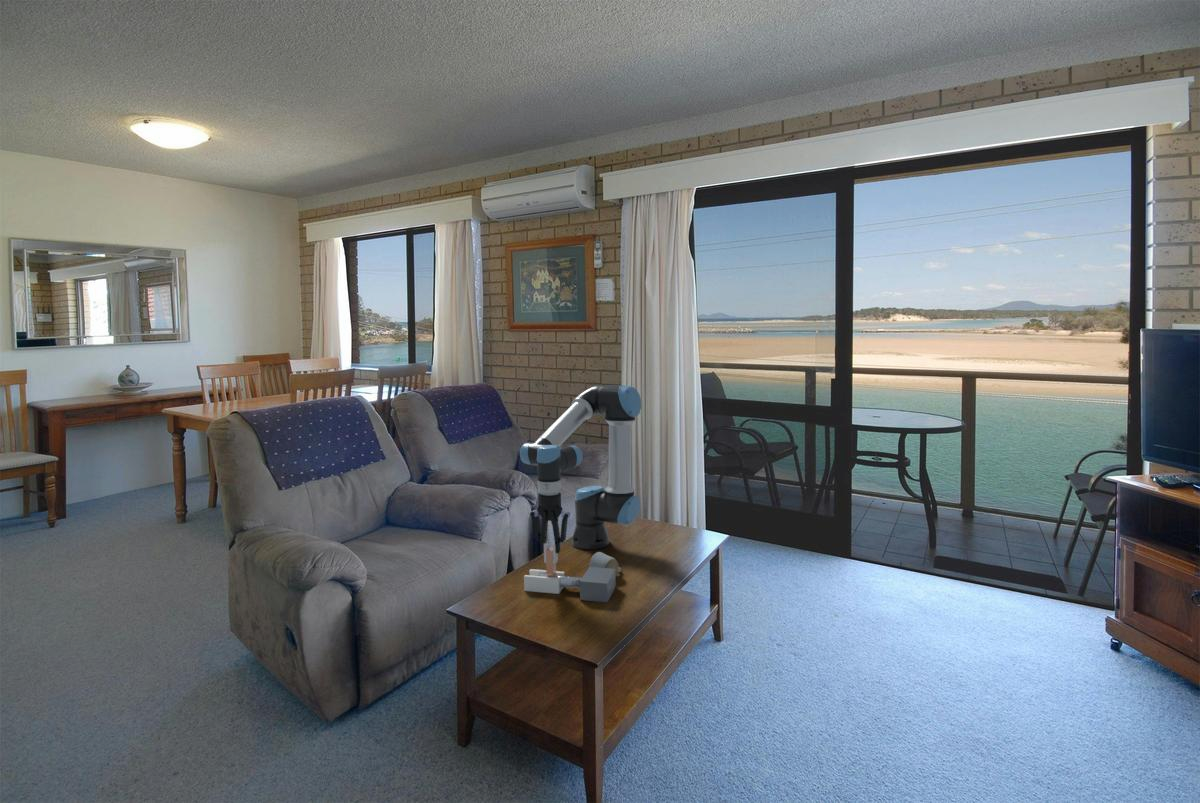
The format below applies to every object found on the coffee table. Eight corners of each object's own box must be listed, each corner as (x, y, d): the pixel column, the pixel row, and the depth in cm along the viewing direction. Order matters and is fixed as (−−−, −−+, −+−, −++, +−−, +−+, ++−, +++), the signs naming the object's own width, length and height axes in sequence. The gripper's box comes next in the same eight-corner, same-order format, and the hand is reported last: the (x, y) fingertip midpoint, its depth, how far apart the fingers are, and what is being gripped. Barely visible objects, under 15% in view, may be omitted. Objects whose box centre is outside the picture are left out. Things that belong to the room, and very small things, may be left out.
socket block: (589, 584, 208) (589, 566, 207) (615, 586, 206) (615, 568, 205) (580, 599, 196) (579, 581, 195) (607, 602, 194) (607, 583, 193)
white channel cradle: (531, 583, 210) (530, 569, 209) (564, 586, 207) (564, 571, 206) (524, 590, 204) (523, 576, 203) (558, 593, 201) (558, 579, 200)
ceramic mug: (605, 582, 210) (605, 560, 209) (588, 575, 216) (588, 554, 215) (626, 573, 217) (626, 552, 217) (609, 567, 223) (609, 547, 222)
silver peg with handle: (539, 582, 207) (538, 546, 206) (584, 585, 204) (584, 549, 202) (535, 586, 204) (534, 550, 203) (581, 590, 200) (581, 553, 199)
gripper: (523, 494, 199) (525, 564, 202) (568, 496, 196) (570, 567, 198) (531, 488, 207) (532, 556, 209) (575, 490, 203) (576, 559, 205)
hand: (551, 561), depth 204 cm, fingers closed on silver peg with handle, 2 cm apart
